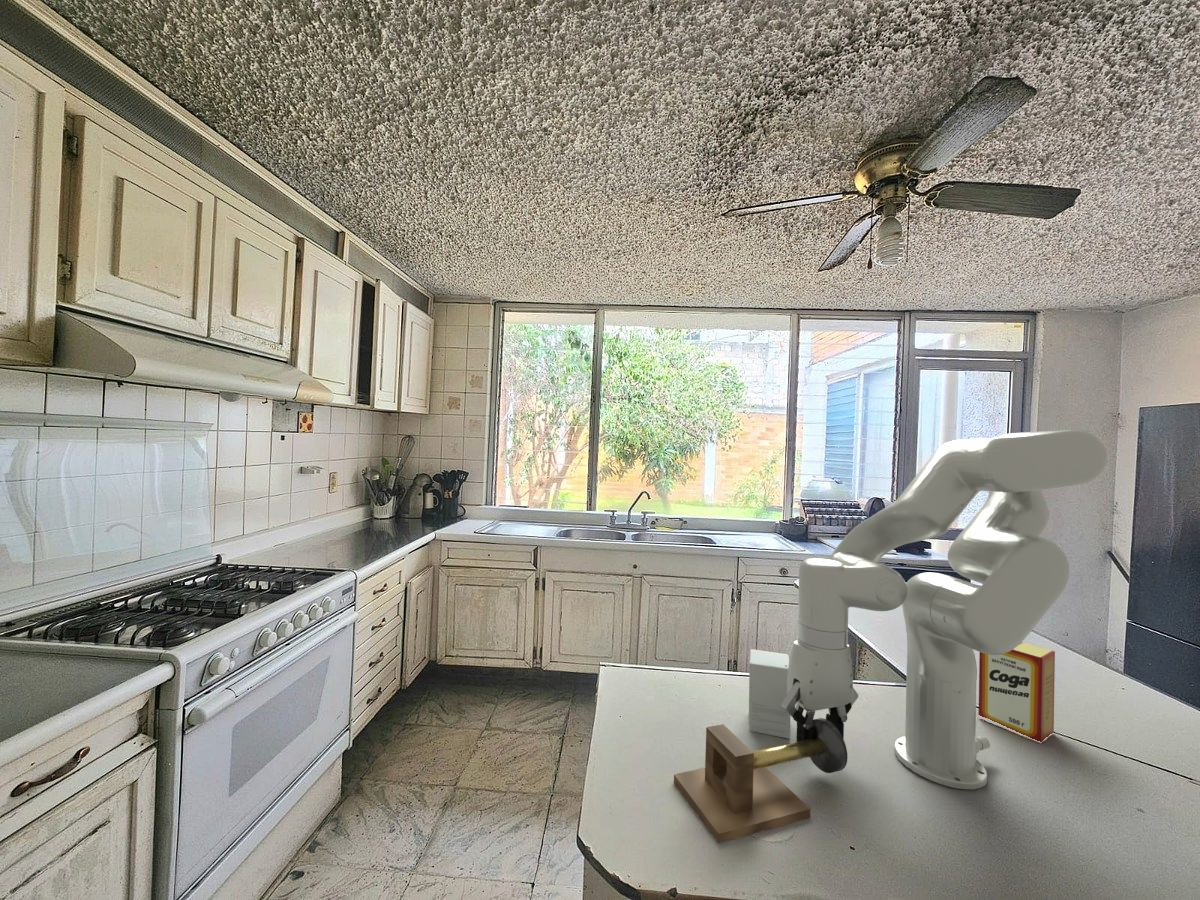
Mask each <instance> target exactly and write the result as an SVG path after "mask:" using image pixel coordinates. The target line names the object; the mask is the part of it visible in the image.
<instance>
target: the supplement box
mask: <svg viewBox="0 0 1200 900" xmlns="http://www.w3.org/2000/svg"><path fill="white" fill-rule="evenodd" d="M789 659H790V655H789V654H788V653H781V652H774V651H767V650H766V651H765V650H761V649H760V650H759V649H755V648H754V649H753V648H751V649H750V653H749V659H748V662H749V663H748V668H749V670H748V671H749V672H748V677H749V679H748V695H749V696H748V732H753V733H759V734H764V735H769V736H774V737H779V738H782V739H783V738H784V739H787V740H788V739H791V715H790V714H789V713H788V712H787V711H786V710H785V709H784V708H783V707H782V706H781V704H782V702H783V700H784V699H785V697H786V696H787V675H788V666H789Z"/></svg>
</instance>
